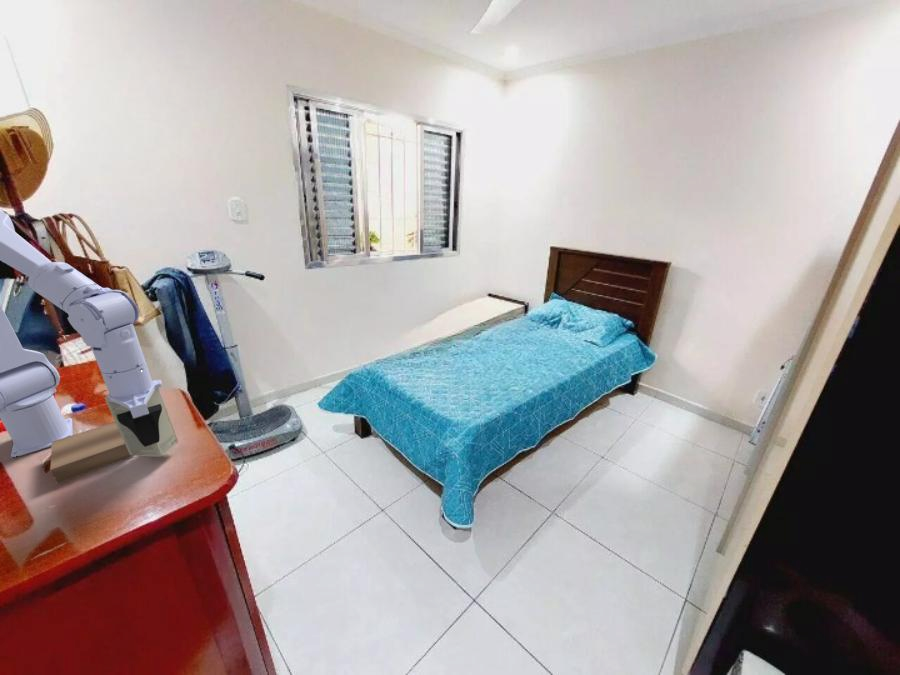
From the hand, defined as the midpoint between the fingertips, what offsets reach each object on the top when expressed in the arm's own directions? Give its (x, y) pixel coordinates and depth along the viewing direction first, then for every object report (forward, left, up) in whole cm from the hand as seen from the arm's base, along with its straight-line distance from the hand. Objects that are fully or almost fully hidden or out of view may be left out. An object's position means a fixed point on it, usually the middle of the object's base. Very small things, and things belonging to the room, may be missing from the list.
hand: (148, 433), depth 65 cm
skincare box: (0, 0, -4) cm, 4 cm away
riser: (-8, -8, -5) cm, 12 cm away
